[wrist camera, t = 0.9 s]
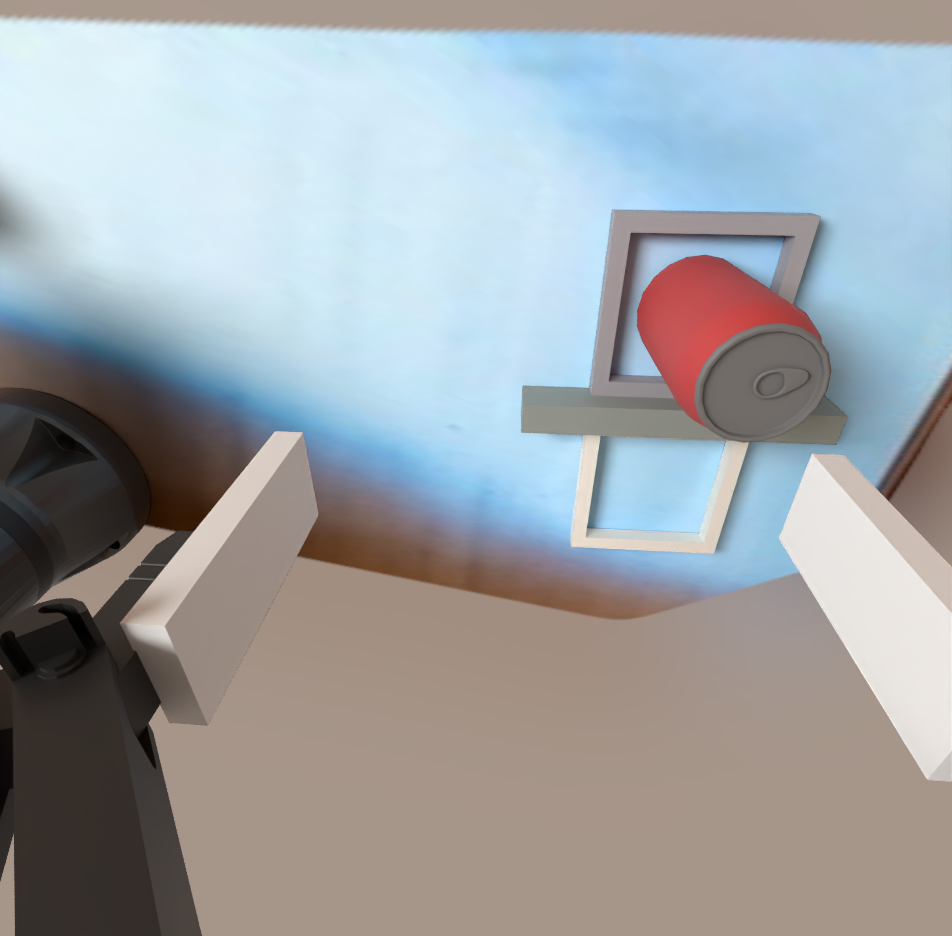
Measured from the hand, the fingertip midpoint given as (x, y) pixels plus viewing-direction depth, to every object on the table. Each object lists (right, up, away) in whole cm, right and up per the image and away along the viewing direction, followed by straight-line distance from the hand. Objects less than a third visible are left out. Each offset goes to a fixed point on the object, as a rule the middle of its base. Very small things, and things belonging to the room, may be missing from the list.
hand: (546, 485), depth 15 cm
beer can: (+11, +10, +19) cm, 25 cm away
